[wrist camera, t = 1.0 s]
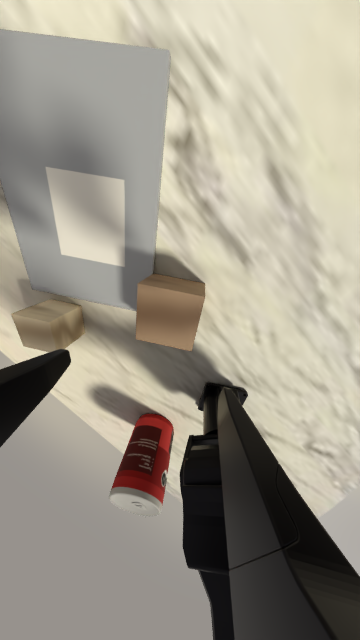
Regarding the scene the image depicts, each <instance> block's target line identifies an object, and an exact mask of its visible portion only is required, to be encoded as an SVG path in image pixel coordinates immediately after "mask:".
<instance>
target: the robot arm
mask: <svg viewBox="0 0 360 640" xmlns="http://www.w3.org/2000/svg"><path fill="white" fill-rule="evenodd" d="M70 363H71V358H70V354H69V351H68V350H65V349H58V350H55V351H52V352H49V353H46V354H44V355H41V356H38V357H35V358H32V359H29V360H26V361H23V362H20V363H18V364H15V365H12V366H9V367H6V368H3V369H1V370H0V447H1V446H2V445H3V443H5V441H6V440H7V439H8V438H9V437H10V436H11V435H12V433H13V432H14V431H15V430H16V429H17V428H18V427H19V426H20V424H21V423H22V422H23V421H24V420H25V419H26V418H27V417H28V415H29V414H30V413H31V412H32V411H33V410H34V409H35V407H36V406H37V405H38V404H39V403H40V402H41V401H42V400H43V398H44V397H45V396H46V395H47V394H48V393H49V392H50V390H51V389H52V388H53V387H54V385H55V384H56V383H57V381H58V380H59V379H60V377H61V376H62V375H63V373H64V372H65V371H66V369H67V368H68V367H69V365H70ZM247 396H248V393H247V391H244V390H240V389H235V388H231V387H226V386H222V385H218V384H213V383H206V384H205V387H204V390H203V393H202V396H201V399H200V402H199V405H198V409H199V410H201V411H204V426H203V435H196V436H194V435H189V439H188V442H187V446H186V450H185V454H184V458H183V462H182V466H181V470H180V487H181V494H182V499H183V549H184V554H185V558H186V563H187V566H188V568H190V569H195V570H198V571H199V574H200V577H201V579H202V582H203V585H204V588H205V590H206V593H207V596H208V598H209V601H210V606H211V617H212V627H213V628H212V629H213V640H360V576H359V575H358V574H357V572H356V571H355V570H354V568H353V567H352V566H351V564H350V563H349V562H348V560H347V559H346V558H345V556H344V555H343V553H342V552H341V551H340V549H339V548H338V547H337V545H336V544H335V542H334V541H333V540H332V539H331V537H330V536H329V534H328V533H327V532H326V530H325V529H324V527H323V526H322V525H321V523H320V522H319V521H318V519H317V518H316V516H315V515H314V514H313V512H312V511H311V509H310V508H309V507H308V505H307V504H306V502H305V501H304V500H303V498H302V497H301V495H300V494H299V493H298V491H297V490H296V488H295V487H294V485H293V484H292V482H291V481H290V479H289V478H288V476H287V475H286V473H285V472H284V470H283V468H282V467H281V465H280V464H278V461H277V459H276V458H275V456H274V455H273V453H272V452H271V450H270V448H269V447H268V445H267V444H266V442H265V441H264V439H263V438H262V436H261V434H260V433H259V431H258V430H257V428H256V427H255V425H254V424H253V422H252V421H251V419H250V417H249V416H248V414H247V413H246V411H245V410H244V408H243V407H242V405H243V404H244V402H245V400H246V398H247Z"/></svg>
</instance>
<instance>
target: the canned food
mask: <svg viewBox="0 0 360 640" xmlns="http://www.w3.org/2000/svg"><path fill="white" fill-rule="evenodd" d="M173 435H174V431H173V426H172V424H171V423H170V421H169V420H167V419H166V418H164V417H162V416H160V415H157V414H145V415H142V416H141V417H140V418H139V419H138V421H137V422H136V425H135V427H134V430H133V433H132V435H131V438H130V441H129V443H128V446H127V448H126V451H125V454H124V456H123V459H122V462H121V464H120V467H119V469H118V472H117V475H116V477H115V480H114V483H113V486H112V489H111V491H110V495H109V499H110V500H111V502H112V503H113V504H114V505H116V506H117V507H119V508H121V509H123V510H125V511H127V512H130V513H133V514H137V515H142V516H157V515H159V514H160V513H161V509H162V504H163V498H164V492H165V486H166V480H167V473H168V467H169V460H170V454H171V447H172V441H173Z"/></svg>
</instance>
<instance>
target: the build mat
mask: <svg viewBox="0 0 360 640" xmlns="http://www.w3.org/2000/svg"><path fill="white" fill-rule="evenodd" d="M170 61H171V56H170V51H169V50H165V49H157V48H149V47H141V46H133V45H125V44H116V43H108V42H100V41H92V40H84V39H76V38H68V37H59V36H51V35H43V34H35V33H27V32H19V31H11V30H3V29H0V181H1V184H2V188H3V191H4V194H5V198H6V201H7V205H8V208H9V212H10V215H11V218H12V222H13V225H14V229H15V232H16V236H17V239H18V242H19V246H20V249H21V253H22V256H23V259H24V263H25V266H26V270H27V273H28V277H29V280H30V283H31V287H32V289H34V290H39V291H43V292H48V293H53V294H57V295H62V296H67V297H72V298H76V299H81V300H86V301H91V302H95V303H100V304H105V305H110V306H114V307H119V308H124V309H129V310H133V311H137V287H138V283H139V282H141V281H142V280H144V279H145V278H147V277H149V276H150V275H152V274H153V273H154V261H155V248H156V236H157V223H158V211H159V198H160V186H161V173H162V161H163V149H164V136H165V124H166V111H167V99H168V86H169V74H170Z"/></svg>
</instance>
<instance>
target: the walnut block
mask: <svg viewBox="0 0 360 640" xmlns="http://www.w3.org/2000/svg"><path fill="white" fill-rule="evenodd" d="M204 299H205V283H200V282H195V281H190V280H185V279H180V278H175V277H170V276H165V275H160V274H154V273H153V274H152V275H150V276H149V277H147V278H145V279H144V280H142V281H141V282H139V283H138V287H137V317H136V339H137V340H142V341H146V342H151V343H156V344H160V345H165V346H169V347H174V348H178V349H183V350H187V351H192V348H193V344H194V340H195V336H196V331H197V327H198V323H199V319H200V315H201V311H202V307H203V303H204Z"/></svg>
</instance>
